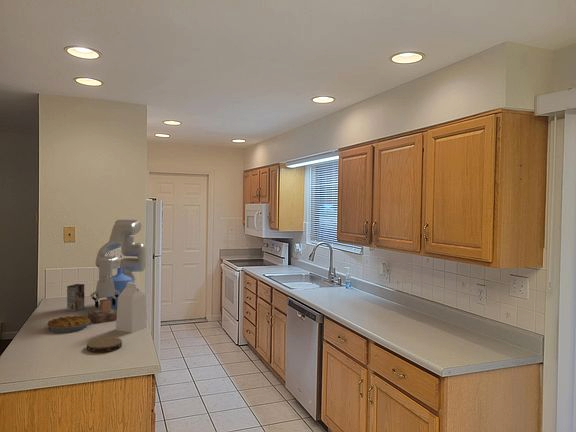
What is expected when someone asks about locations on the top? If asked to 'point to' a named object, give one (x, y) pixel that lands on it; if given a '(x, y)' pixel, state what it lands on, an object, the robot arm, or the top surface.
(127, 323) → the milk
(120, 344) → the brown round disc
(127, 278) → the water jug
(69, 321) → the pie
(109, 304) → the terracotta block
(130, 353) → the top surface
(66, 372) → the top surface
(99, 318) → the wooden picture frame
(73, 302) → the coffee box
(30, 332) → the top surface
